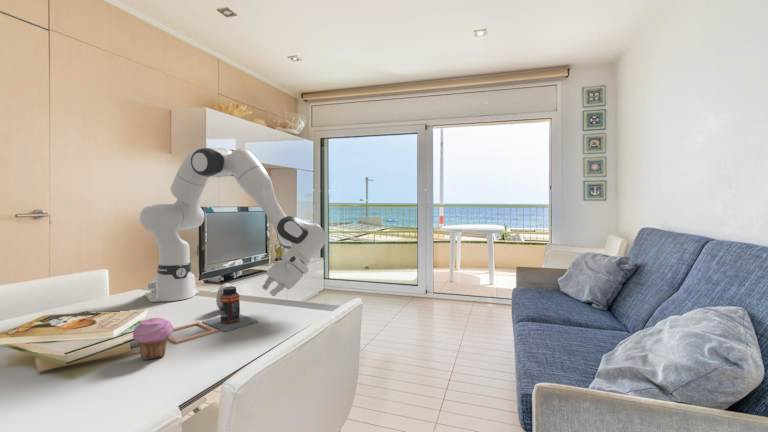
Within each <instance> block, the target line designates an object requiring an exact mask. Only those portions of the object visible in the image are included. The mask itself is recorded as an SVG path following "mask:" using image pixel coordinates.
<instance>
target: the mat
mask: <svg viewBox="0 0 768 432" xmlns="http://www.w3.org/2000/svg"><path fill="white" fill-rule="evenodd" d="M201 323H203V324H205V325H208V326H210V327H212V328H214V329H217V330H218V331H220V332H223V333H227V332H229V331H232V330H237V329H240V328H243V327H244V328H245V327H247V326H249V325H253V324H256V323H259V320H257V319H255V318H251V317H249V316H246V315H243V314H242V313H240V319H239V321H237V322H234V323H228V324H227V323H222V322H221V316H218V317H215V318H210V319H207V320H202V321H201Z"/></svg>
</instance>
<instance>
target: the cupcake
mask: <svg viewBox="0 0 768 432" xmlns="http://www.w3.org/2000/svg"><path fill="white" fill-rule="evenodd" d="M173 328H174V325H173V323H172V322H171V321H170V320H169V319H166V318H163V317H151V318H147V319H146V320H143V321H142V322H140V324H138V325H137V326H136V327H135V328H134V329H133V331H132V338H133V340H134V341H136V342H138V344H139V345H138V346H139V348H140V349H139V350H140V351H139V352H140V357H141V359H142V360H146V361H148V360H151V359H157V358H162V357H164V356H165V355H166V348H167V343H168V341H169V339H168V337H169V336H172V334H173V333H174V331H173V330H174V329H173Z"/></svg>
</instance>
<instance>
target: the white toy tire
mask: <svg viewBox="0 0 768 432" xmlns="http://www.w3.org/2000/svg"><path fill="white" fill-rule="evenodd" d="M231 286H233V285H232V284H231V283H228V282H227V283H226V282H225V283H223V284H222V285H220V286H219V287H218V290H217V292H216V306H217V308H218V309H219V310H220V296H221V295H222V294H223V288H225V287H231Z"/></svg>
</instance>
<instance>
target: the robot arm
mask: <svg viewBox="0 0 768 432" xmlns="http://www.w3.org/2000/svg"><path fill="white" fill-rule="evenodd" d="M267 171H268V170H266V168H265V167H264V166H263V164H262V163H261V161H259V159H258V158H257V157H256V156H255V155H254V154H253V153H252V152H251V151H250V150H249V149H247V148H237V149H235V150H234V149H227V148H222V147H218V148H216V147H215V148H212V147H210V148H209V147H203V148H199V149H196V150H195V151H192V152H190V153H188V155H186V157H185V158H184V160H183V161H182V163H181V164H180V166H179V168H178V171H177V172H176V174H175V177H174V179H173V180H172V184H171V186H170V191H171V194H172V196H173V197H174V198H175V199H176V201H175V203H162V204H161V203H156V204H152V205H147V206H145V207H144V208H143V209H142V210H141V212H140V213H139V222H140V224H141V226H142V227H143V229H145V230H146V231H148V233H150V234H151V235H152V236H153V238H154V240H155V242H156V244H157V247H158V258H159V259H158V261H159V264H158V266H157V271H156V273H157V274H156V275H155V277H154V278H153V279H152V280H151V281H150V282H151V283H148V285H147V287H148V290H150V291H146V292H144V296H145V297H146V299H147V300H148V301H149V302H150V303H156V302H177V301H181V300H186V299H190V298H193V297H195V295H197V294H199V293H200V291H199V289H196V280H195V279H196V278H195V274H194V273H192V262H191V261H190V259H191V258H190V257H191V256H190V255H191V251H190V248H191V247H190V244H189V243H188V241H186V240H184V239H182V238H181V236H180V235H179V231H184V230H191V229H194V228H198V227H200V226H202V224H203V223H204V221H205V212H204V210H203V209H202V207H201V206H200V199H201V197H202V194H203V192H204V189H205V187H206V184H208V180H209V178H211V177H213V178H224V177H233V178H235V180H236V182H237V183H238V184H239V186H240V187H241V188H242V190H243V191H244V192H245V193H246V195H248V196H249V197H250V198H251V199H252V201H254V203H256V204H257V206H258V207H259V208H260V209H261V210H262V211H263V212H264V214H265V216H266V217H267V218H268V220H269V221H270V223H271V224H272V226H273V228H274V229H275V231H276V236H277V241H278V243H279V245H280V246H281V247H283V248H285V249H287V250H286V252H285V253H284V254H283V255H282V257H281V259H279V260H278V261H276V262H275V263H274V264H273V265H271V267H270V268H268V270H267V271H266V273H265V275H266V277H267V278H266V280H265V281H264V283H263V285H261V288H262V289H263V290H264V291H267V290H268V289H269V288H270V285H271V284H273V283H274V282H276V283H277V285H276V287H274V288H272V289H271V290H270V291H269V294H270V295H271V296H272V297H276V296H277V294H278V293H280V292H282V291H283V290H284V289H287V290H290V289H292V288H294V286H296V285H297V284H298V282H299V281H300V280H301V279H302V277H303V276H304V275H307V273H308V272H309V267H308V265H309V263H310V262H311V260H312V258H313V257H314V256H316V255H317V254H318V253H319V252H320V250H321V249H322V248H323V247H324V245H325V244H326V243H327V241H328V240H327V238H328V237H327V236H328V235H327V233H326V231H325V229H324V228H323V227H322V226H321V225H320V224H318V223H314V222H313V223H312V222H308V221H304V220H302V219H299V218H298V217H295V216H294V215H288V216H287V215H286V213H285V212H284V210H283V209H282V208H281V206H280V204H279V203H278V200H277V197H276V194H275V190H274V185H273V181H272V179H271V177H270V175H269V173H268V172H267Z"/></svg>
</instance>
